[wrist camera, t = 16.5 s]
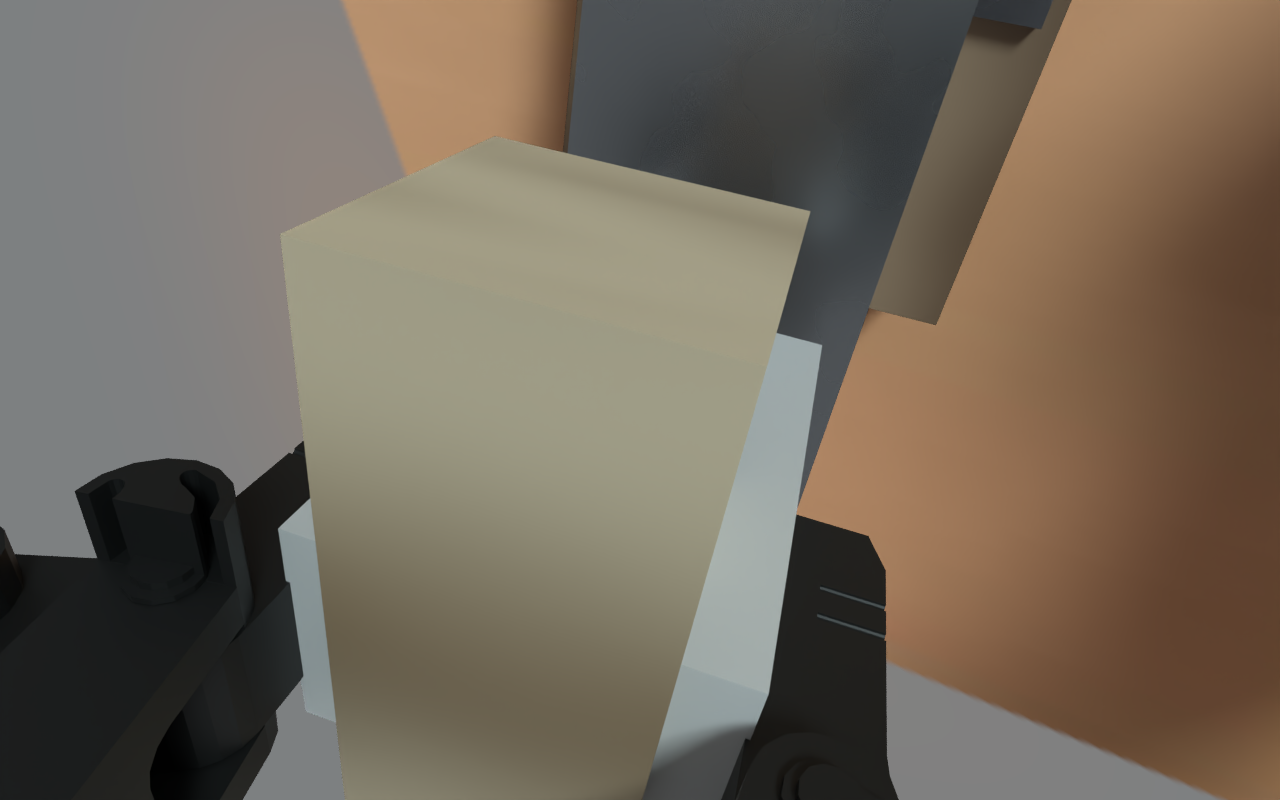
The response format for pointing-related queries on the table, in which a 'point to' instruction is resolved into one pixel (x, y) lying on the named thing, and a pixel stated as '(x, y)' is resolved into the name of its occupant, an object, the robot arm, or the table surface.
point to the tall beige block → (586, 377)
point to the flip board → (955, 150)
